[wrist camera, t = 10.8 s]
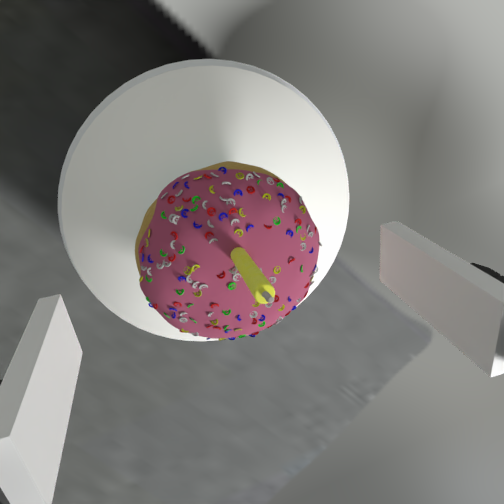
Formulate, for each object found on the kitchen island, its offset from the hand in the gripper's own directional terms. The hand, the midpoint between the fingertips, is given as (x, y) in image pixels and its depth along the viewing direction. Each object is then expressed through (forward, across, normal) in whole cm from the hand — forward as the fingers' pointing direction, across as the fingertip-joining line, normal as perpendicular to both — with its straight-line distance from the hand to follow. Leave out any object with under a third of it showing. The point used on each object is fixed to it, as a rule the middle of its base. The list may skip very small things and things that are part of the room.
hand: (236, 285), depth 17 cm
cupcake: (+7, 0, 0) cm, 7 cm away
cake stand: (+14, 0, 0) cm, 14 cm away
